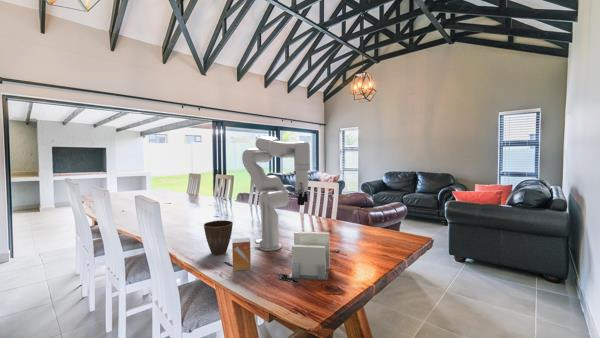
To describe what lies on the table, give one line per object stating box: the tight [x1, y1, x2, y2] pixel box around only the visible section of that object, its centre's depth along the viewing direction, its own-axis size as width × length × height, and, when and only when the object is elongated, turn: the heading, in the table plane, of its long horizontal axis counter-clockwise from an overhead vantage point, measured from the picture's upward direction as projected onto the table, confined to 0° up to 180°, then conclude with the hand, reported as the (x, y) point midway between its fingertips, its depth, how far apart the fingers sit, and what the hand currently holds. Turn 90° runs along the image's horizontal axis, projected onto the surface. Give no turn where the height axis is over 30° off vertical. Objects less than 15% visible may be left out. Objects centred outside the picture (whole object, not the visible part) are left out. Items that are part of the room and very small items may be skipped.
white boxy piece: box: [288, 231, 331, 282], centre depth 122 cm, size 16×14×16 cm
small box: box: [231, 237, 252, 272], centre depth 129 cm, size 8×6×13 cm
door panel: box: [291, 244, 327, 276], centre depth 120 cm, size 14×2×12 cm, turn 80°
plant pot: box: [203, 220, 234, 256], centre depth 150 cm, size 15×15×16 cm
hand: (302, 203), depth 135 cm, fingers open, 9 cm apart
